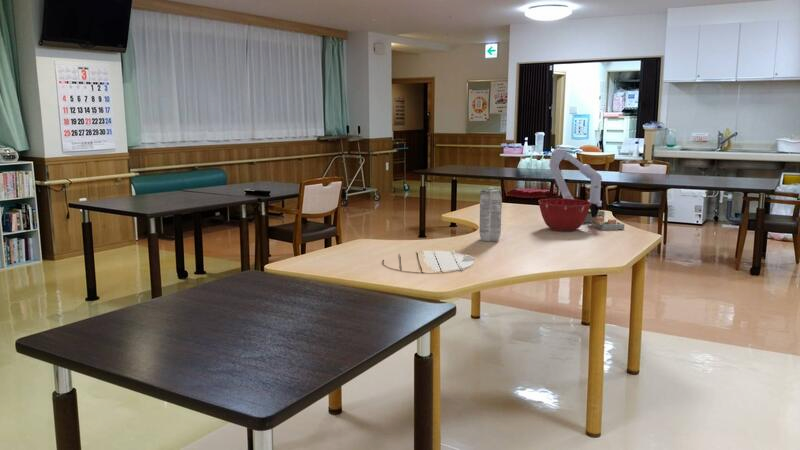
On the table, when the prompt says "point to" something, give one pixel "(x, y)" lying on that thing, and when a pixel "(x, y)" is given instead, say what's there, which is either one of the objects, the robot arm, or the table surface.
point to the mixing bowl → (564, 213)
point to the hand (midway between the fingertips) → (593, 217)
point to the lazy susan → (448, 260)
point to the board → (599, 222)
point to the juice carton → (490, 214)
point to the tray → (610, 226)
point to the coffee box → (593, 217)
